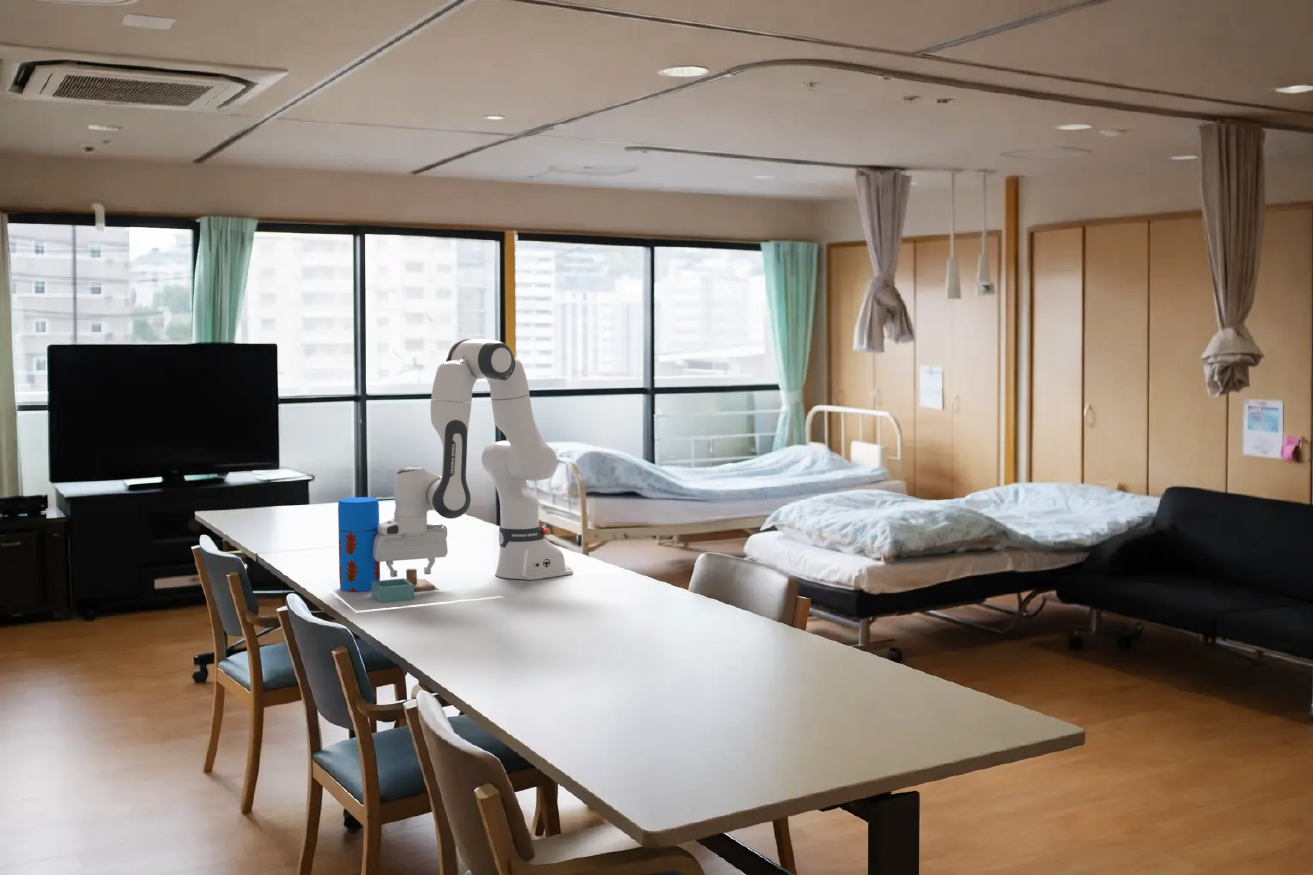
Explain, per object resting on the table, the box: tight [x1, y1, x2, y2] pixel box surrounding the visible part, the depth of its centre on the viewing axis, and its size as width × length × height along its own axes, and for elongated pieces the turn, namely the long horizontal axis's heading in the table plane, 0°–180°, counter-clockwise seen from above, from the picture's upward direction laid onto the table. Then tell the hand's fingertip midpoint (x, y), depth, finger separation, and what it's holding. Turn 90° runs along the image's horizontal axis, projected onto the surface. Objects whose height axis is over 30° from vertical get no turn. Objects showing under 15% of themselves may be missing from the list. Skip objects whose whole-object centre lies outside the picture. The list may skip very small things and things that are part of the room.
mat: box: [414, 586, 440, 593], centre depth 329 cm, size 12×12×1 cm
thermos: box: [337, 496, 381, 593], centre depth 327 cm, size 11×11×25 cm
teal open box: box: [370, 577, 415, 604], centre depth 316 cm, size 9×9×4 cm
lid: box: [405, 568, 436, 592], centre depth 329 cm, size 10×10×5 cm
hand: (410, 575), depth 328 cm, fingers open, 8 cm apart
